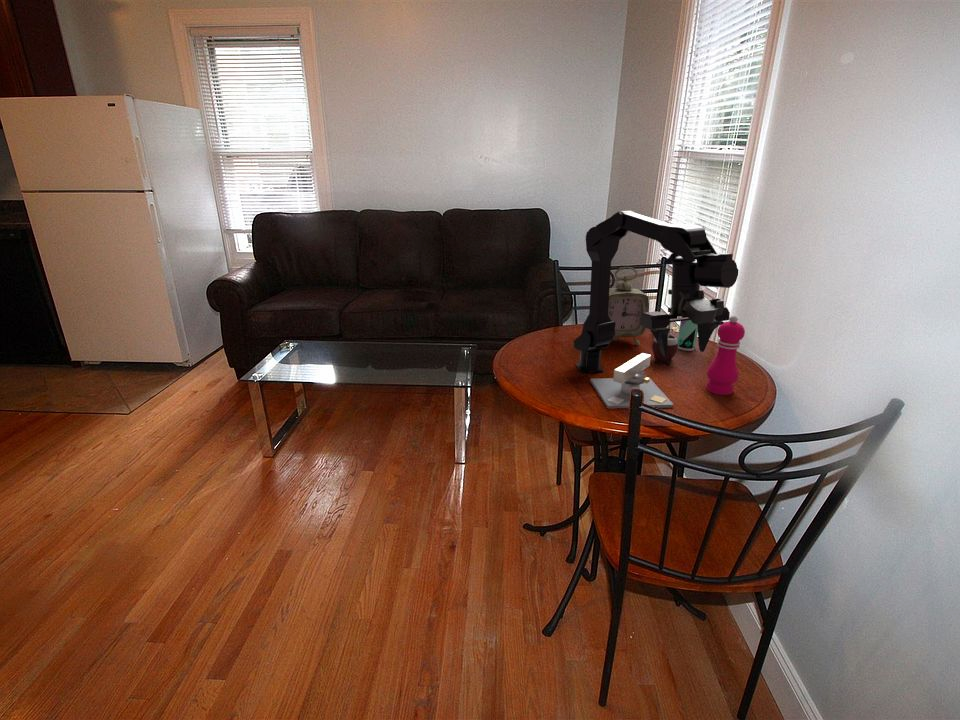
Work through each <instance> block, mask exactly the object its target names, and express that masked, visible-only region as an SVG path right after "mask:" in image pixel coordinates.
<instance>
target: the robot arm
mask: <svg viewBox="0 0 960 720" xmlns="http://www.w3.org/2000/svg"><path fill="white" fill-rule="evenodd" d="M629 232H630V233H632V234H633V233H634V234H637V235H638V236H642V237H645V238H647V239H651V240H653V241H655V242H658V243H659V244H660V245H661V246H662V248H664V249H665V250H666V251H669V252H670V253H671V254H670V255H669V256H668V257H667V258H666V259H665V260H664V261H663V264H664V265H669V266H670V265H672V266H671V289H668V293H667V294H668V295H670V296H671V300H670V301H671V302H670V307H667V313H666V312H662V311H649V312H646V313H643V314H642V316H641V317H640V325H642V326H645V327H646V329H647V330H650V332H651V334H652V335H653V337H654V339H656V341H657V343H658V346H659V348H660V350H661V352H662V355H663V356H665V357H666V356H667V351H668V333H669V331H670V332H671V330H672V329H671V327H670V328H668V325H669V324H670V322H671V323H677V322H681V321H686V320H691V322H692V323H694V324H697V326H698V334H697V341H698V344H697V345H698V350H699V352H701V353H703V352H705V350H706V348H707V346H708V343H709V342H710V339H711V337H712V335H713V333H714V332H715V329H718V328H719V326H720V325H722V324H724V322H727V321H730V320H729V319H730V317H731V312H730V310H729V309H728V306H727V307H726V306H725V300H724V299H722V297H717V298H716V297H715V298H714V297H713V298H712V299H705V291H704V290H703V289H701V287H709V288H723V289H725V288H726V289H730V288H731V287H733V286H734V285H735V284H736V282H737V280H738V278H739V277H738V276H739V268H738V266H737V262H736V261H735V260H734V259H733V256H734V254H733V253H731V252H728V253H719V254H718V253H717V251H716V250H715V248H714V247H713V244H712V243H711V242H710V240H709V239H708V237H707V233H706V229H705V228H704V227H703V226H701V225H694V224H680V223H679V224H674V223H668V222H666V221H661V220H659V219H655V218H654V217H653V218H652V217H649V216H646V215H643V214H639V213H636V212H635V211H633V210H620V211H617V212H615V213H614V214H613V215H611V216H610V217H608V218H607V219H605V220H604V221H601V222H599V223H598V224H597V225H595V226H592V227H591V228H589V229H588V230H587V231H586V235H585V246H586V247H585V249H586V252H587V255H588V256H589V258H590V259H589V260H591V273H590V293H589V313H588V315H587V317H586V319H585V320H584V322H583V324H582V330H581V334H580V335H579V336H578V337H576V339H574V340H573V347H574V349H576V350H577V351H579V352H580V354H579V361H578V362H575V365H576V367H577V369H578V370H579V372H580V373H604V369H603V367H602V366H601V356H602V349H607V348H608V347H609V346H610V343H611V342H612V341H613V340H614V337H613V336H615V325H616V324H615V321H611V319H610V317H609V315H608V305H609V289H610V288H611V269H612V262H613V259H614V257H615V256H616V254H617V252H618V250H619V245H620V242H621V239H623V238H624V237H626V236H627V235H628V233H629ZM668 313H669V314H668ZM670 313H671V314H670ZM669 334H670V333H669Z"/></svg>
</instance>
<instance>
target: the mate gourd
mask: <svg viewBox="0 0 960 720" xmlns="http://www.w3.org/2000/svg"><path fill="white" fill-rule="evenodd" d="M669 314H671V313H670V312H669ZM671 323H672V322H670V324H669V325H668V326H667V328H670V329H671ZM670 332H671V330H670V331H669V333H668V351H667V356H666V357H665V356H663V355H662V352H661V350H660V348H659V346H658V343H657V341H656V339H655V338H653V341H652V343H651V344H652V346H651V348H652V349H651V350H652V353H653V358H654V360H653V362H652V363H653V365H658V364H664V365H666V366H667V367H671V365H672V364H671V363H672V362H673V358H674V357H675V355H676V354H677V351H678V350H679V349H678V338H677V337H676V336H674V335H672V334H670Z"/></svg>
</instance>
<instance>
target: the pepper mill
mask: <svg viewBox="0 0 960 720" xmlns="http://www.w3.org/2000/svg"><path fill="white" fill-rule="evenodd" d="M723 322H724V324H722V325H719V326H718V327H717V333H716V334H717V336H718V339H717V343H716V344H717V346H718V348H717V349H718V350H717V353H716V356H715V357H714V359H713V360H712V362H711V363H710V364H709V366H708V368H707V372H706V376H707V378H708V380H707V382H706V390H707V391H709V392H710V393H712V394H715V395H719V396H720V395H721V396H729V395H732V394H733V391H734V388H735V386H734V384H735V383H736V382H737V381H738V379H739V369H738V366H737V361H736V360H737V359H736V354H737V351H738V349H739V348H740V345H741V342H740V341H741V340H743V339H744V337H745V333H746V332H745V328H744V325H742V323H740V322H738V317H737V315H732V316H731V315H730V319H729V320H727V321H723Z"/></svg>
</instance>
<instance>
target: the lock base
mask: <svg viewBox="0 0 960 720" xmlns="http://www.w3.org/2000/svg"><path fill="white" fill-rule="evenodd" d="M646 377H647V376H646ZM613 378H614V377H612V378H611V377H609V378H607V377H606V378H604V377H603V378H590V383H591V385H592V387H593V388H594V389H595V391H596V392H597V394H598V396H599V398H600V397H601V398H600V399H601V401H602V400H603V401H602V402H603V404H604V403H605V404H604V405H606V406H607V407H606V406H605V407H606V409H607V408H627V409H628V410H629V403H630V392H631V390H632V389H640V390H642V391H643V393H644V402H643V403H644V404H647V405H650V406H654V407H657V408H656V409H663V408H665V409H667V408H672V409H673V408H674V403H673V402H672V401H671V400H670V399H669V398H668V397H667V396H666V394H665V393H664V392H663V391H662V390H661V389H660V388H659V387H658V386H657V384H655V382H654V381H653V380H652V379H651V378H650V377H647V378H650V380H649V383H643V384H639V385H631V384H626V383H623V384H621V383H618V382H615V381H613Z"/></svg>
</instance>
